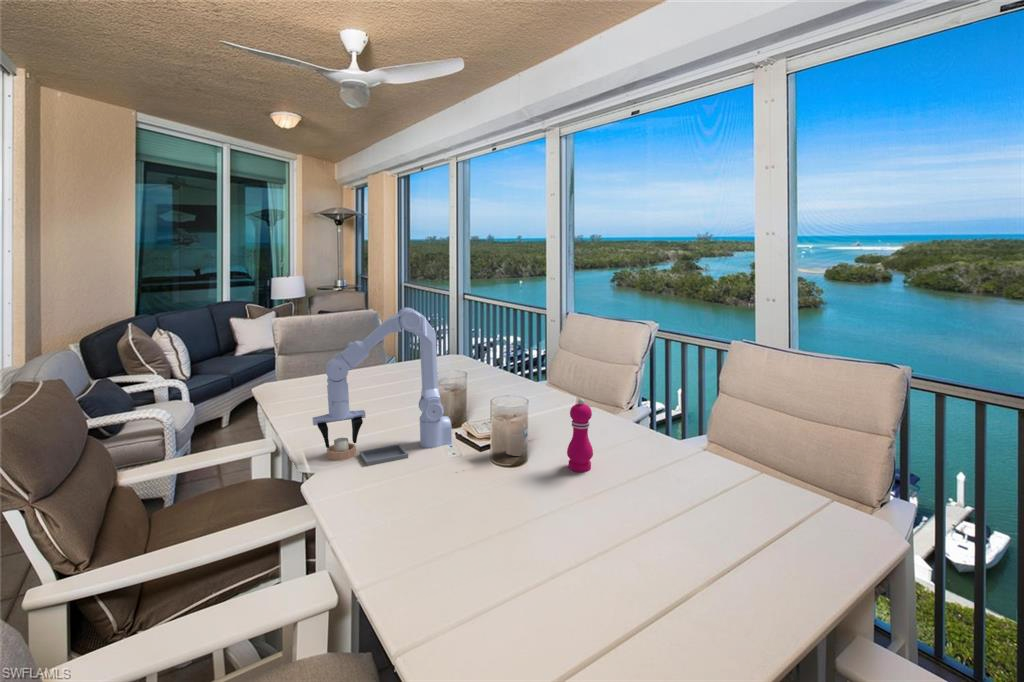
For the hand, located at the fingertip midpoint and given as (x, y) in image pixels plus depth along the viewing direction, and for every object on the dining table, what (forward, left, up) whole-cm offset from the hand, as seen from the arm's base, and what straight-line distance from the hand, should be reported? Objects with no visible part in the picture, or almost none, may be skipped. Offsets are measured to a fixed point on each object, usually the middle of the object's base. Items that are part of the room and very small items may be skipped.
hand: (341, 444), depth 144 cm
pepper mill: (-57, +41, -4) cm, 70 cm away
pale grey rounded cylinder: (0, 0, -3) cm, 3 cm away
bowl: (0, 0, -4) cm, 4 cm away
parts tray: (-10, +8, -4) cm, 14 cm away
